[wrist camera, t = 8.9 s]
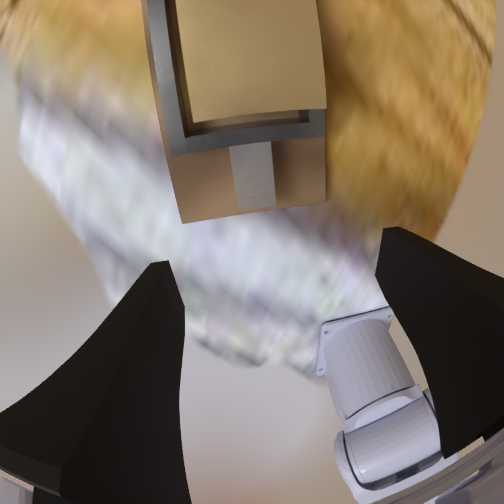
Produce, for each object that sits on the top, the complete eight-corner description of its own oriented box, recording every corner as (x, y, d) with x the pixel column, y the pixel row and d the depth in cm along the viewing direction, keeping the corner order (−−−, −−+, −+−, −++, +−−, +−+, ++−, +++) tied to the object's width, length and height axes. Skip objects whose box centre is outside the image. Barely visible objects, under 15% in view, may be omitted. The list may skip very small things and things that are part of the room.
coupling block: (267, -1, 10) (304, -54, 4) (279, 97, 13) (326, 108, 7) (190, 7, 10) (170, -47, 4) (204, 106, 13) (193, 122, 7)
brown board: (320, 196, 18) (337, 217, 16) (183, 216, 18) (178, 241, 15) (292, -69, 7) (306, -89, 5) (141, -54, 7) (129, -73, 4)
